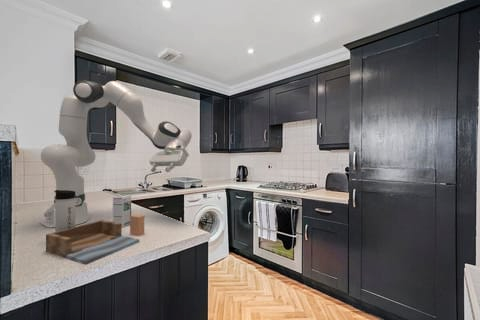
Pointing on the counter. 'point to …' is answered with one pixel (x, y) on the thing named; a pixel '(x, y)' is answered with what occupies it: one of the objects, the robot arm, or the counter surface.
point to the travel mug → (64, 209)
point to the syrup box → (122, 209)
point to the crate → (88, 241)
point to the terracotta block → (137, 225)
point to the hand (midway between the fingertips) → (159, 171)
